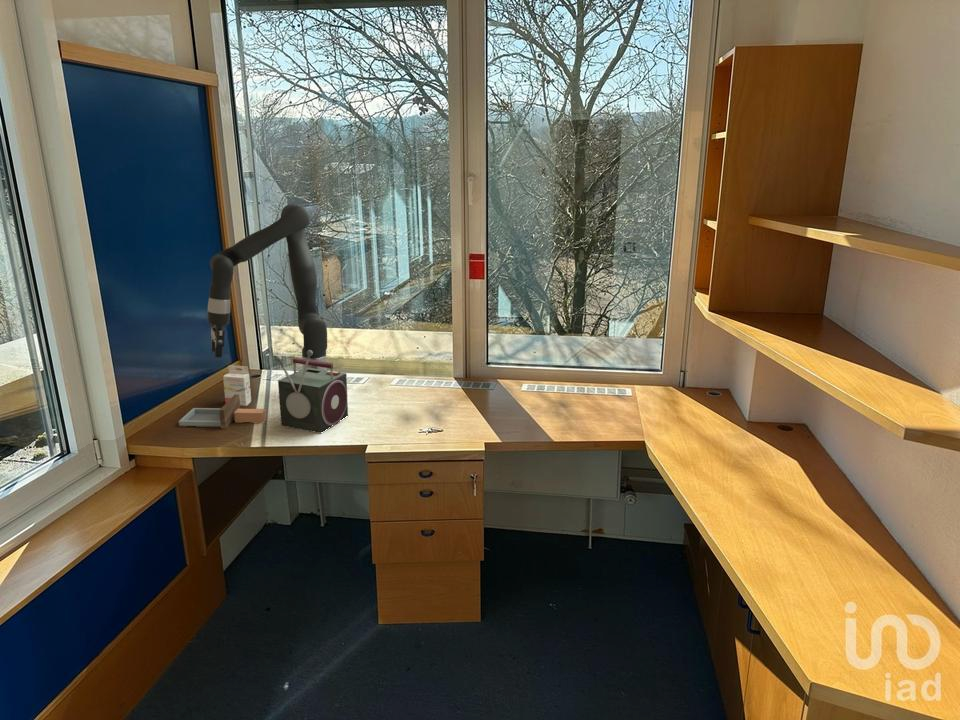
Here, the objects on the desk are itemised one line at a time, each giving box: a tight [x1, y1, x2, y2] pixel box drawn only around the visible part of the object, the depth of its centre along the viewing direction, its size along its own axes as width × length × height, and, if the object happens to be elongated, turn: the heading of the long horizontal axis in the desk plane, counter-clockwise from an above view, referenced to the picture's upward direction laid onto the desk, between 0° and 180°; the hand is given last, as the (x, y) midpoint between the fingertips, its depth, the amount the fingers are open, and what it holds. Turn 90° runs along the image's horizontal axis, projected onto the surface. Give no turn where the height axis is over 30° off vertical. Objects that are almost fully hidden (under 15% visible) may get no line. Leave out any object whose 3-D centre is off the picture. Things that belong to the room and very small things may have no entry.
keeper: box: [178, 407, 222, 428], centre depth 239 cm, size 15×13×2 cm
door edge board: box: [219, 394, 241, 430], centre depth 238 cm, size 2×16×7 cm, turn 1°
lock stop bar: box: [234, 408, 267, 424], centre depth 239 cm, size 10×4×4 cm, turn 90°
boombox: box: [275, 350, 349, 433], centre depth 236 cm, size 18×21×30 cm
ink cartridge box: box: [222, 364, 252, 407], centre depth 253 cm, size 9×5×15 cm, turn 84°
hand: (216, 354), depth 241 cm, fingers open, 8 cm apart
